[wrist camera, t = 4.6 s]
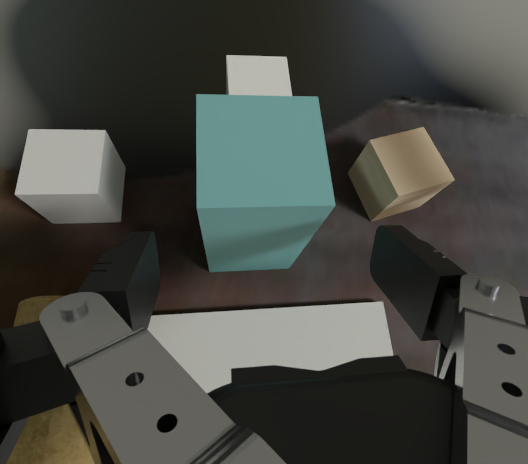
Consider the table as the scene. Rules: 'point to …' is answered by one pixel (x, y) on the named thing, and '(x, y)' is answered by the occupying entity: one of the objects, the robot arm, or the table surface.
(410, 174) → the birch cube right
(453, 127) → the table surface
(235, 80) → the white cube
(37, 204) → the grey cube left
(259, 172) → the teal block
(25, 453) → the gavel
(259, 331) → the white mat
